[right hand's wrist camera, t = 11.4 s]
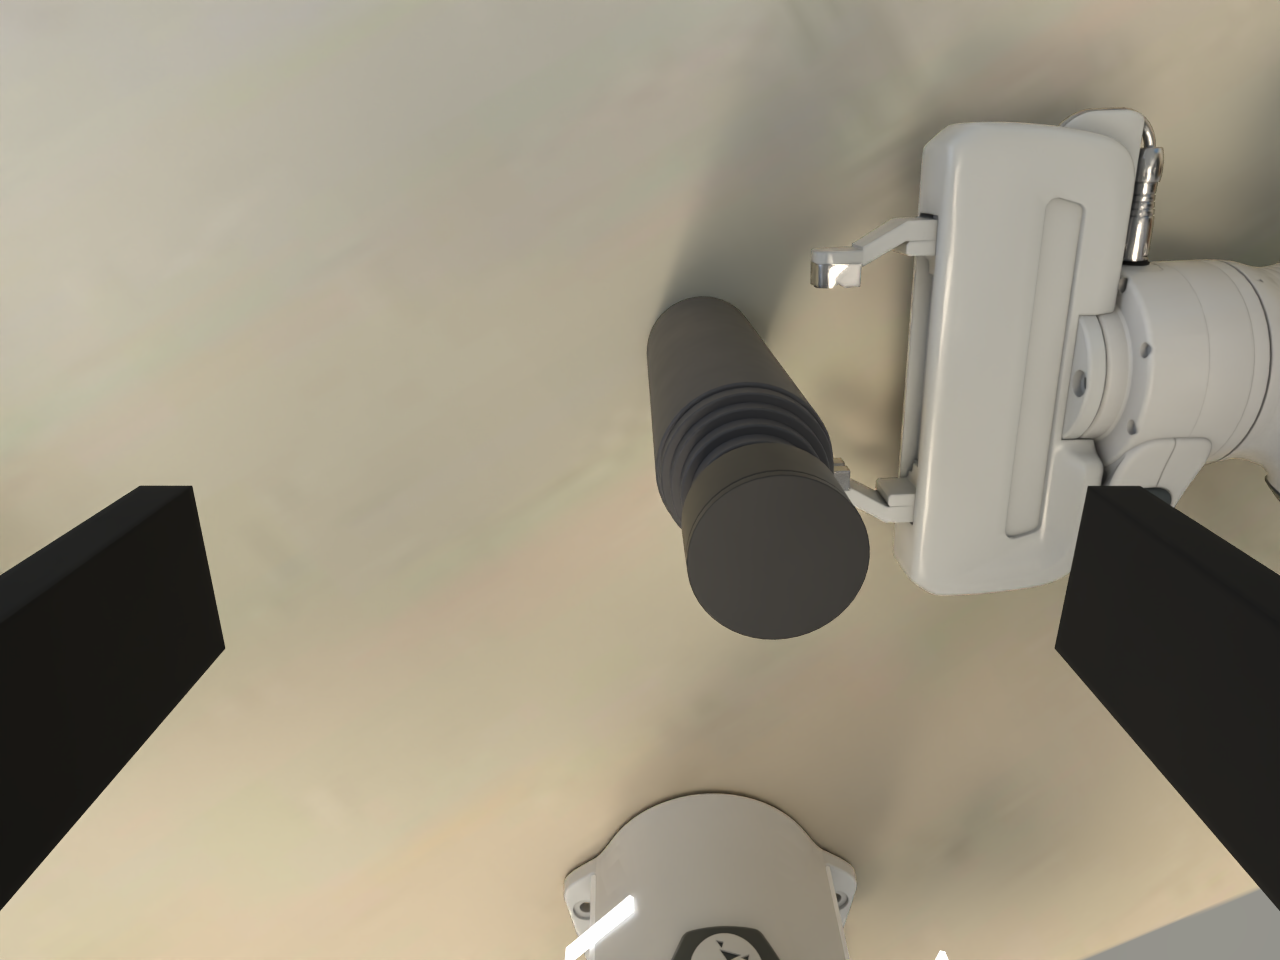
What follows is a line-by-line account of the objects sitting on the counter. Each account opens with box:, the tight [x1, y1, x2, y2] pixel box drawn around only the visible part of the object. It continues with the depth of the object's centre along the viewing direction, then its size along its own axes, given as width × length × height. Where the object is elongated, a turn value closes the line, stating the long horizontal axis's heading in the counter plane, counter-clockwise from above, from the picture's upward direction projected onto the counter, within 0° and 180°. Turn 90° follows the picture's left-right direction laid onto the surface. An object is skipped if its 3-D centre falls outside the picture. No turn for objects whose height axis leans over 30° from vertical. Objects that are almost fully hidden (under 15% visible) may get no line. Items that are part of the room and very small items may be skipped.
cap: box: [681, 443, 870, 640], centre depth 21 cm, size 4×4×2 cm
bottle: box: [647, 297, 834, 529], centre depth 31 cm, size 6×6×23 cm
